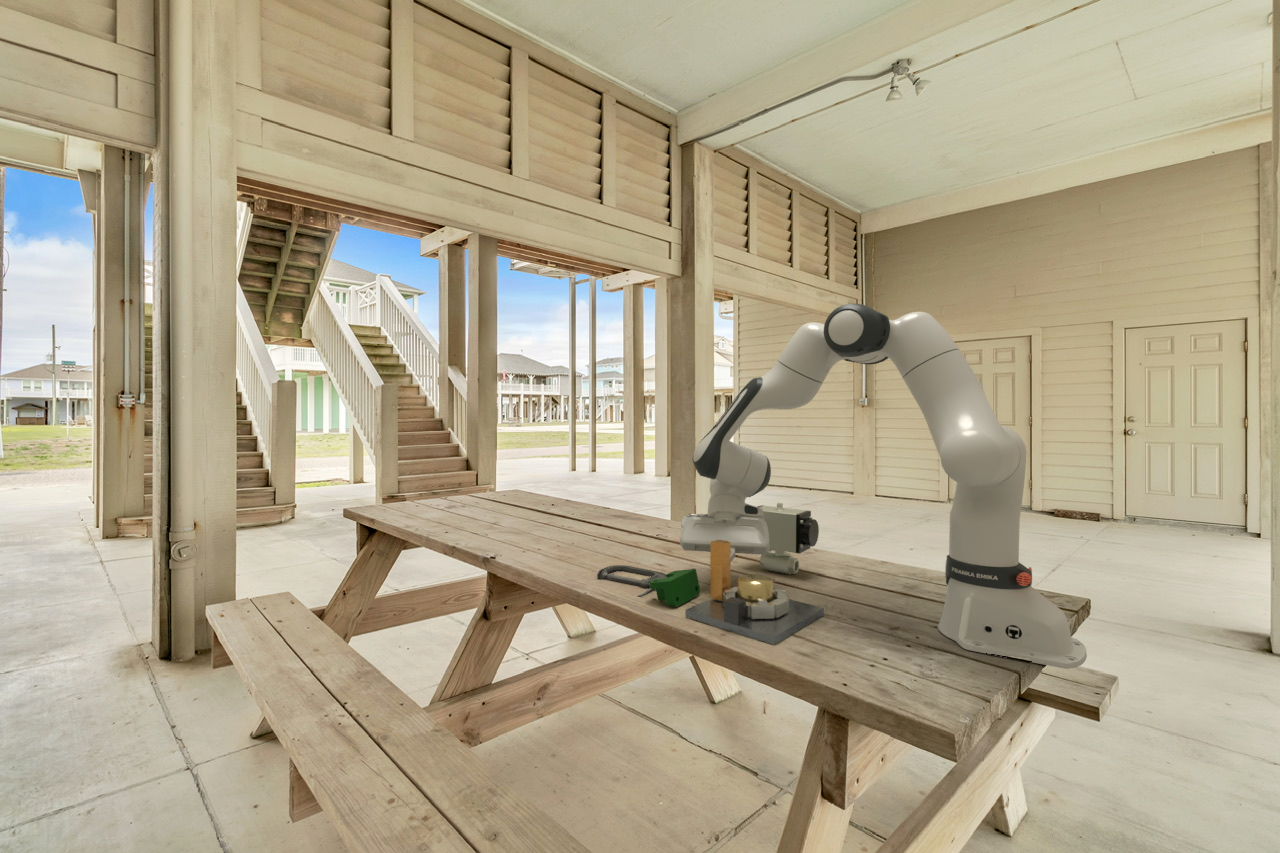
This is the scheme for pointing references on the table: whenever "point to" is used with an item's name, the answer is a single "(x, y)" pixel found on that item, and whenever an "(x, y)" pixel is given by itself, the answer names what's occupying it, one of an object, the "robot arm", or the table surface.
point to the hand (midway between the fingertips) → (722, 567)
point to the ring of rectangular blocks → (723, 592)
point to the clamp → (677, 587)
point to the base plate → (736, 621)
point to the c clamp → (642, 583)
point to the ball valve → (787, 537)
